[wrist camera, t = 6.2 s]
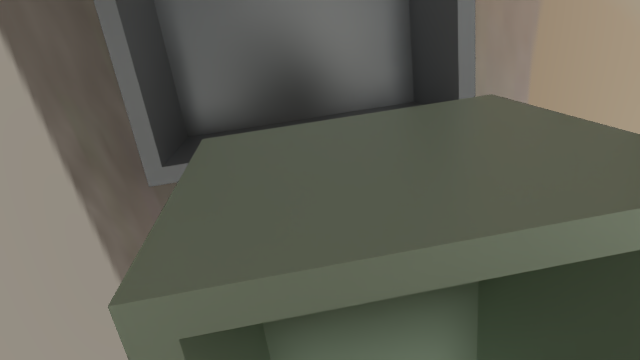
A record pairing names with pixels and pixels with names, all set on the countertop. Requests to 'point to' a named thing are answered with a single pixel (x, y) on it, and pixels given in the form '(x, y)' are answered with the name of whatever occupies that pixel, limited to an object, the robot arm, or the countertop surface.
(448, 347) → the small crate
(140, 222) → the countertop surface
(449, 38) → the big crate
